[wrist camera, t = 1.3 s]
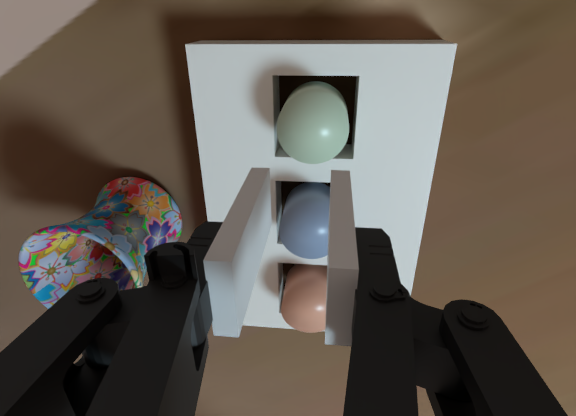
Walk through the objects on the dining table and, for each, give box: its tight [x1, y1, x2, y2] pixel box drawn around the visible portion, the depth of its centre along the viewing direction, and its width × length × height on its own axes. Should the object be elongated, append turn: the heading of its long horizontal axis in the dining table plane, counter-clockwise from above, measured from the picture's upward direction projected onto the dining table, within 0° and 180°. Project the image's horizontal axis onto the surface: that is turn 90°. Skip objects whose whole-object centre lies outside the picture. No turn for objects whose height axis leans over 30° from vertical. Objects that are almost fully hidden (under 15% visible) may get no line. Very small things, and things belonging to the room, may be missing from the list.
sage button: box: [276, 81, 349, 164], centre depth 27 cm, size 5×5×4 cm
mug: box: [19, 177, 182, 309], centre depth 33 cm, size 12×9×11 cm
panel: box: [185, 40, 457, 331], centre depth 33 cm, size 18×26×4 cm
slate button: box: [279, 182, 330, 259], centre depth 30 cm, size 5×5×4 cm
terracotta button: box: [281, 264, 327, 333], centre depth 34 cm, size 5×5×4 cm
